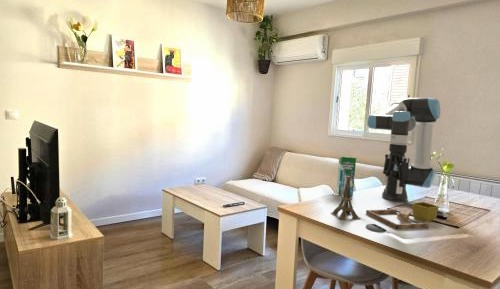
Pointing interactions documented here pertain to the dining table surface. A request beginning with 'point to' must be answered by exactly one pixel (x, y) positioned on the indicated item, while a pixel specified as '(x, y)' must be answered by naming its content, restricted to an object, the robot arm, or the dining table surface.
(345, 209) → the eiffel tower
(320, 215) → the dining table surface
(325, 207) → the dining table surface
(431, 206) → the flower pot
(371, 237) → the dining table surface
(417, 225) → the frame
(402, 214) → the offcut top
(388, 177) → the supplement bottle
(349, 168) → the milk carton
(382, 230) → the coaster
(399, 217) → the offcut middle
